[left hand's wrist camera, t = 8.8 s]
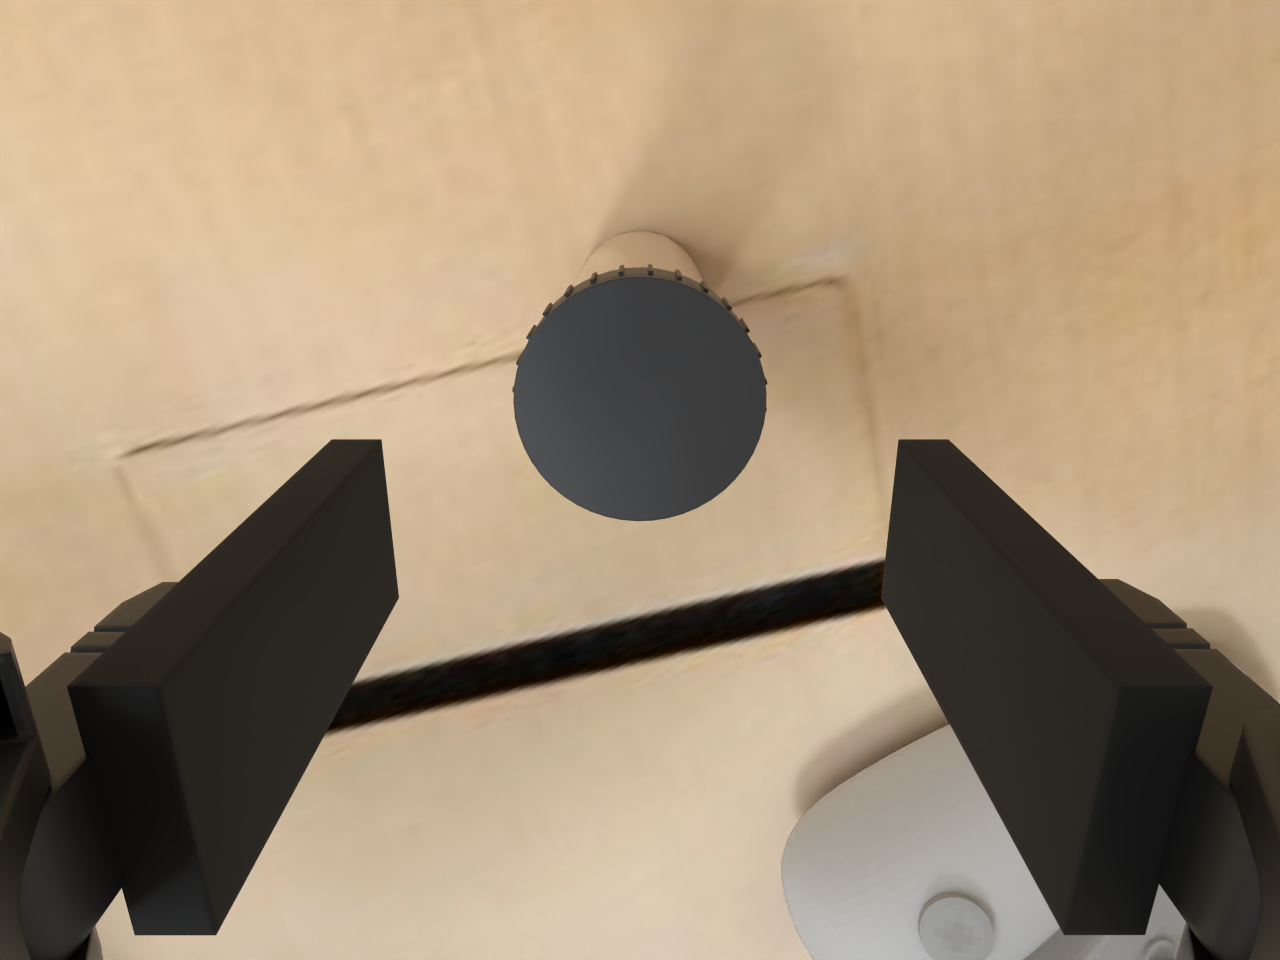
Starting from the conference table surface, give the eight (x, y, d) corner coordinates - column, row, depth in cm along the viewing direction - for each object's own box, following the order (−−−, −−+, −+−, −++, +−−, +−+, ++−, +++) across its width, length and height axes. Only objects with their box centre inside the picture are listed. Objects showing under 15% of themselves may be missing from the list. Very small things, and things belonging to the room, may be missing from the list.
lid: (485, 444, 22) (473, 467, 20) (574, 221, 20) (569, 227, 18) (697, 530, 23) (701, 559, 21) (802, 325, 21) (815, 339, 19)
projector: (1152, 984, 48) (1355, 1312, 35) (744, 960, 48) (787, 1285, 34) (1288, 639, 41) (1618, 887, 27) (803, 605, 40) (888, 841, 26)
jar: (558, 327, 36) (500, 452, 21) (607, 209, 34) (581, 253, 19) (670, 376, 36) (692, 530, 21) (723, 262, 35) (786, 345, 20)
